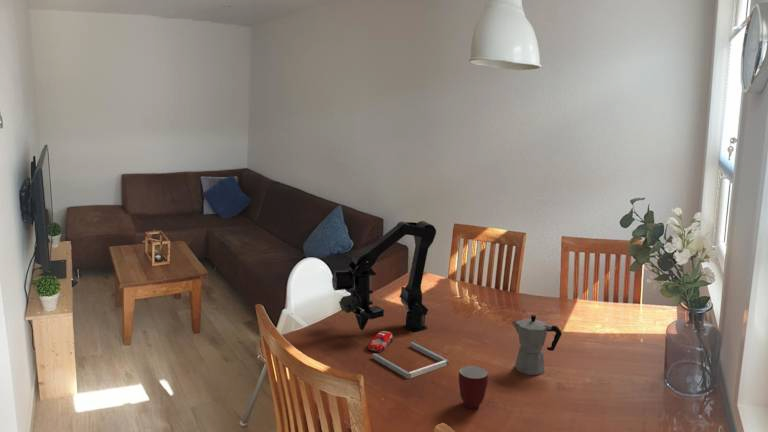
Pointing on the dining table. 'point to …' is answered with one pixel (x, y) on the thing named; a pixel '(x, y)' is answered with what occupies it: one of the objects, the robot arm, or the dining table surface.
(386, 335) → the race car
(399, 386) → the dining table surface
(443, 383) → the dining table surface
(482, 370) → the mug
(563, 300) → the dining table surface
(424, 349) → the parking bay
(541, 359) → the coffeepot
